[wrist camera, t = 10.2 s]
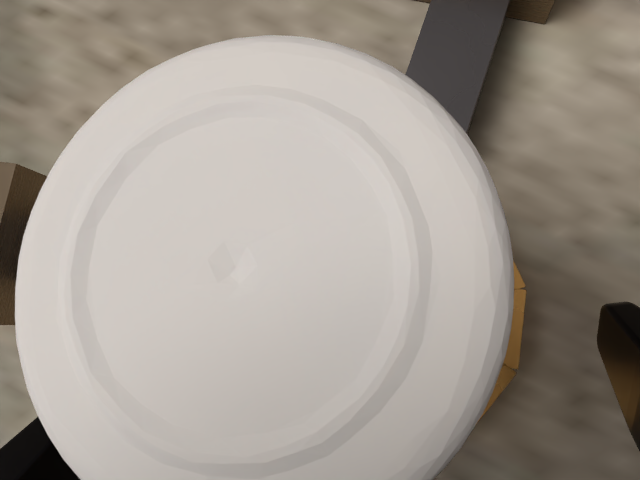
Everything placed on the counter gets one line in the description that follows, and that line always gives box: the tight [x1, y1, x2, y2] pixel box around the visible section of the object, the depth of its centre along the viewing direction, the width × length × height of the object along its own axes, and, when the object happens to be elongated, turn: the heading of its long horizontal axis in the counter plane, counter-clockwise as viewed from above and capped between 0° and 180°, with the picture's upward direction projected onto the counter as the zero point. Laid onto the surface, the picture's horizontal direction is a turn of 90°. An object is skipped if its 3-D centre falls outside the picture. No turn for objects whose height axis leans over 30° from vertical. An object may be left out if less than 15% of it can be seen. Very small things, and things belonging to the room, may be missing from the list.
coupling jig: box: [0, 0, 555, 423], centre depth 16 cm, size 17×25×4 cm
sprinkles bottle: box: [15, 35, 514, 480], centre depth 10 cm, size 5×5×14 cm
